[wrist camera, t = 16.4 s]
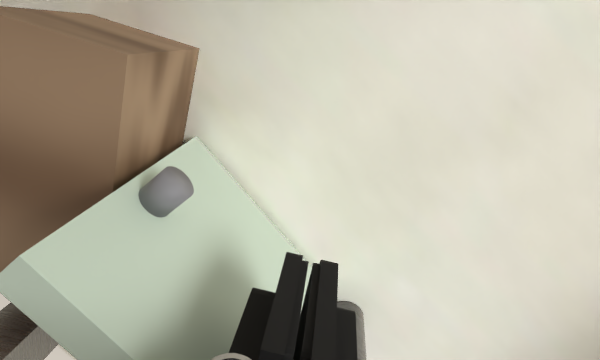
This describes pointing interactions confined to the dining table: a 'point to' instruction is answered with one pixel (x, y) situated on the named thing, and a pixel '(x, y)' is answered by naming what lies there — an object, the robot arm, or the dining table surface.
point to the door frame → (38, 344)
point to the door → (153, 265)
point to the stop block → (80, 115)
